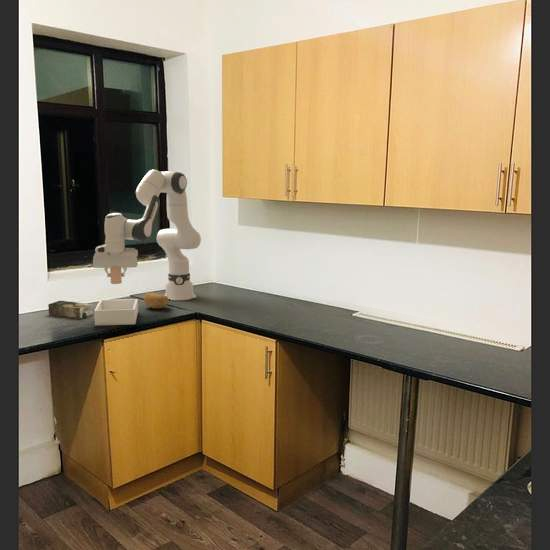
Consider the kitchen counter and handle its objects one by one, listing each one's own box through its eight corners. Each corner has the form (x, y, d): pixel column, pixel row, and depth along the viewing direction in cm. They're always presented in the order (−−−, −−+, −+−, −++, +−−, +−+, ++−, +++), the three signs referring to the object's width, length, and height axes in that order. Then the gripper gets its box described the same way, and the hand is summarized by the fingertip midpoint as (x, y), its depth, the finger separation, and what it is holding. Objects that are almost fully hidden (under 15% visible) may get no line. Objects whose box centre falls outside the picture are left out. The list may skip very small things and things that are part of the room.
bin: (100, 313, 275) (100, 299, 273) (138, 312, 278) (137, 299, 277) (94, 325, 253) (94, 310, 252) (135, 324, 257) (134, 309, 255)
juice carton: (95, 314, 273) (94, 302, 272) (82, 319, 264) (82, 307, 263) (61, 311, 279) (60, 299, 278) (48, 316, 270) (47, 304, 269)
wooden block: (111, 282, 264) (110, 265, 263) (122, 281, 265) (121, 265, 264) (110, 284, 260) (109, 267, 258) (121, 283, 260) (120, 267, 259)
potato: (161, 312, 280) (161, 296, 279) (139, 308, 286) (139, 293, 285) (173, 308, 289) (173, 293, 287) (151, 304, 295) (151, 290, 293)
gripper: (138, 246, 264) (138, 275, 267) (93, 247, 261) (94, 276, 263) (137, 248, 258) (138, 277, 261) (91, 249, 255) (92, 278, 257)
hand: (115, 276), depth 262 cm, fingers closed on wooden block, 5 cm apart
